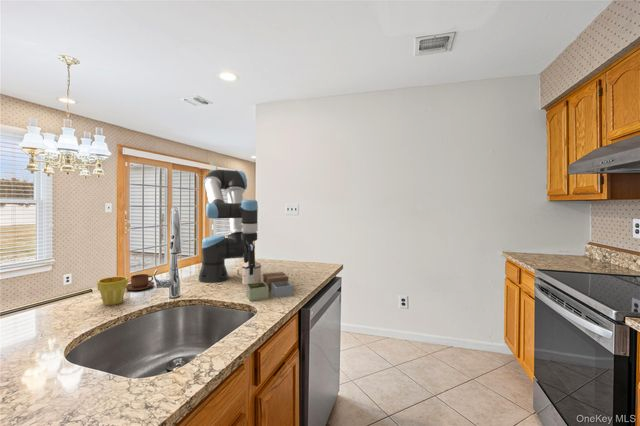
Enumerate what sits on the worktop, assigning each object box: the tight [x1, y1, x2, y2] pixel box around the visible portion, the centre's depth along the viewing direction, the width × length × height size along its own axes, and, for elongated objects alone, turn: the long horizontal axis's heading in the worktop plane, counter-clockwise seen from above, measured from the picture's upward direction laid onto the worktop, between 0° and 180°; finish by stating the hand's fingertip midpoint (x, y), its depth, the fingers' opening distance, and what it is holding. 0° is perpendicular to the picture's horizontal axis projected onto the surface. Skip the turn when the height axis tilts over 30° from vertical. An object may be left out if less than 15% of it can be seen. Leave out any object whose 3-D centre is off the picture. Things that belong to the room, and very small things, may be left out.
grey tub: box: [270, 281, 294, 298], centre depth 136 cm, size 8×8×5 cm
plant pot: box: [96, 275, 129, 306], centre depth 124 cm, size 10×10×10 cm
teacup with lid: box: [236, 260, 262, 286], centre depth 144 cm, size 12×9×12 cm
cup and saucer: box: [125, 273, 155, 291], centre depth 144 cm, size 12×12×6 cm
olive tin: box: [246, 281, 269, 303], centre depth 131 cm, size 8×8×6 cm
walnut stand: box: [262, 271, 290, 293], centre depth 145 cm, size 10×10×7 cm
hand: (249, 278), depth 144 cm, fingers closed on teacup with lid, 9 cm apart
